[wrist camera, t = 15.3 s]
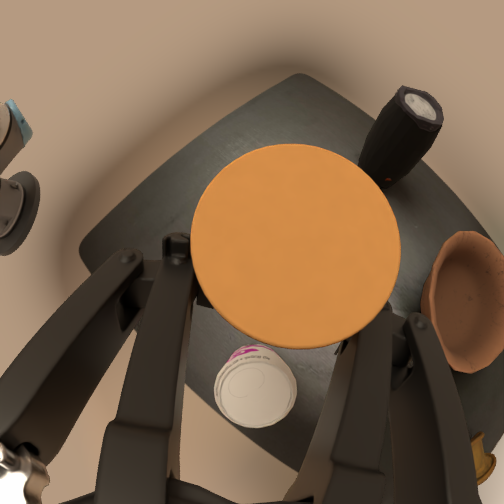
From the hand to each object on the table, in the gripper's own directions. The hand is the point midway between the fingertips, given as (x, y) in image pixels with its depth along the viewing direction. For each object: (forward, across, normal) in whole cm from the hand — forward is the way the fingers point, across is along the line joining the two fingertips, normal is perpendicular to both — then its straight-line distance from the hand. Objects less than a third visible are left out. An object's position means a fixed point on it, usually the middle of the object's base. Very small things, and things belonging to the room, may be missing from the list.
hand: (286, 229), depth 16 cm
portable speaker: (+36, +16, 0) cm, 39 cm away
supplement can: (+9, +1, -27) cm, 29 cm away
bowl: (+20, +32, -16) cm, 41 cm away
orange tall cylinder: (0, 0, -5) cm, 5 cm away
